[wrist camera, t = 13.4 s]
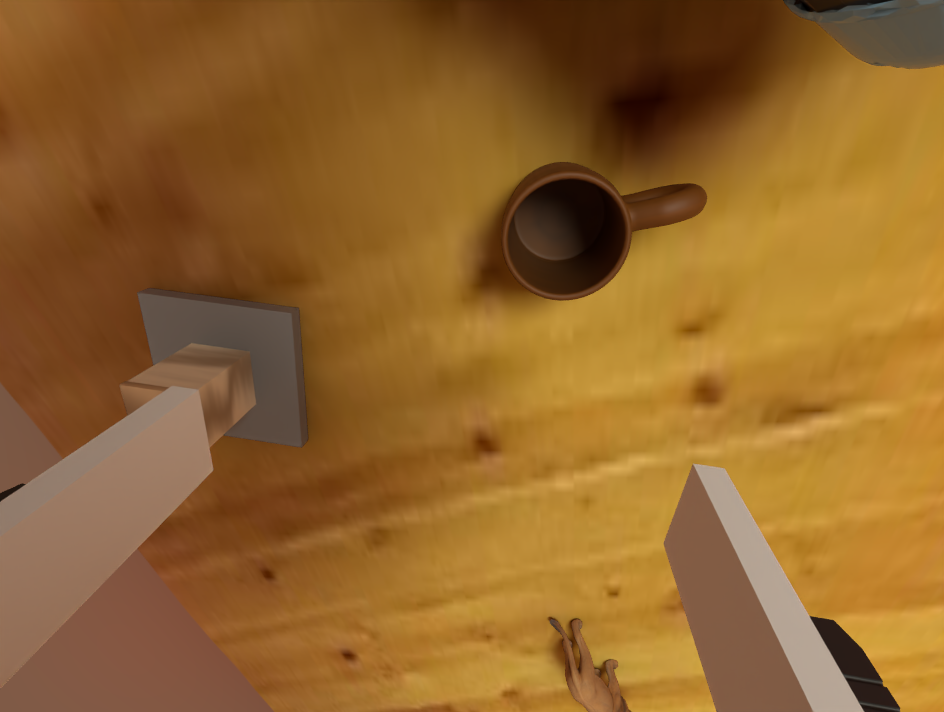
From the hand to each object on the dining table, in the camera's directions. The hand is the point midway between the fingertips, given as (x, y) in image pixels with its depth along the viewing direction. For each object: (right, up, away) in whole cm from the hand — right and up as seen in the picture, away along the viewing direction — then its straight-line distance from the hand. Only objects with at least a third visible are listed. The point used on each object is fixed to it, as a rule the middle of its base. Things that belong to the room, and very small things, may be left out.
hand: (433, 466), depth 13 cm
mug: (+10, +14, +22) cm, 28 cm away
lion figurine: (+16, -32, +43) cm, 55 cm away
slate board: (-22, +2, +32) cm, 39 cm away
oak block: (-22, +1, +31) cm, 38 cm away
